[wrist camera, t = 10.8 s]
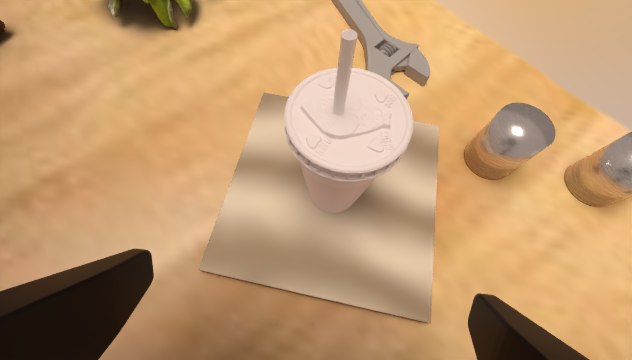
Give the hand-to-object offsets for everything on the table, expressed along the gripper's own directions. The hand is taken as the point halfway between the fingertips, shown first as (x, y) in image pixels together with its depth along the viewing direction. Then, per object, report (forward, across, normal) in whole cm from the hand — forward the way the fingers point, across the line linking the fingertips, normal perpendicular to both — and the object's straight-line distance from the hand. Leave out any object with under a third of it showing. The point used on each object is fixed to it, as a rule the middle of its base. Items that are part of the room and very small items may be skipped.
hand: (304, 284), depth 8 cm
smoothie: (+15, 0, +3) cm, 15 cm away
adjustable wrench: (+31, -1, -12) cm, 33 cm away
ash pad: (+16, 0, +3) cm, 16 cm away
